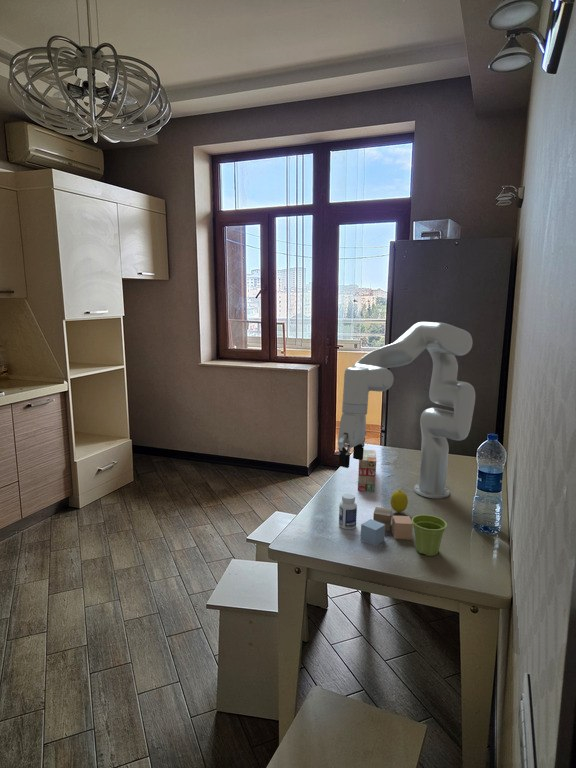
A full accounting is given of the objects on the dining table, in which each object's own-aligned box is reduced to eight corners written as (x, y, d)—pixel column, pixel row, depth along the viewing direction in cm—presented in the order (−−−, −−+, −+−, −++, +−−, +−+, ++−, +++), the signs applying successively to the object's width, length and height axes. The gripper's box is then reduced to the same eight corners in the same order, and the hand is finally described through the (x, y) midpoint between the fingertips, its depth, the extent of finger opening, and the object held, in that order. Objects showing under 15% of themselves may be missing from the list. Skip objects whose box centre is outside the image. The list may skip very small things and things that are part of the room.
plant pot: (403, 543, 136) (405, 515, 135) (433, 540, 138) (435, 513, 137) (419, 561, 127) (422, 531, 126) (451, 557, 130) (453, 528, 128)
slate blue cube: (369, 534, 142) (370, 518, 141) (384, 540, 138) (385, 524, 137) (360, 540, 138) (361, 524, 137) (374, 546, 135) (375, 530, 134)
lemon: (394, 517, 153) (396, 494, 152) (387, 510, 158) (388, 487, 157) (410, 515, 155) (411, 492, 153) (401, 508, 160) (403, 486, 158)
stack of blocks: (358, 471, 195) (359, 442, 193) (373, 472, 194) (375, 443, 192) (357, 491, 174) (359, 459, 172) (374, 492, 173) (376, 460, 171)
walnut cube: (374, 521, 150) (375, 506, 149) (390, 524, 149) (391, 509, 148) (372, 528, 145) (373, 513, 145) (389, 531, 144) (390, 515, 143)
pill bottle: (358, 524, 148) (360, 495, 146) (352, 531, 143) (353, 501, 141) (342, 520, 150) (344, 491, 149) (335, 526, 146) (337, 497, 144)
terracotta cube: (391, 530, 144) (392, 515, 143) (408, 531, 144) (409, 516, 143) (394, 538, 139) (395, 523, 138) (411, 539, 139) (412, 523, 138)
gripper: (355, 402, 151) (352, 454, 154) (330, 410, 137) (326, 467, 139) (377, 406, 147) (373, 458, 150) (353, 414, 133) (349, 473, 135)
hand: (351, 462), depth 144 cm, fingers open, 9 cm apart
